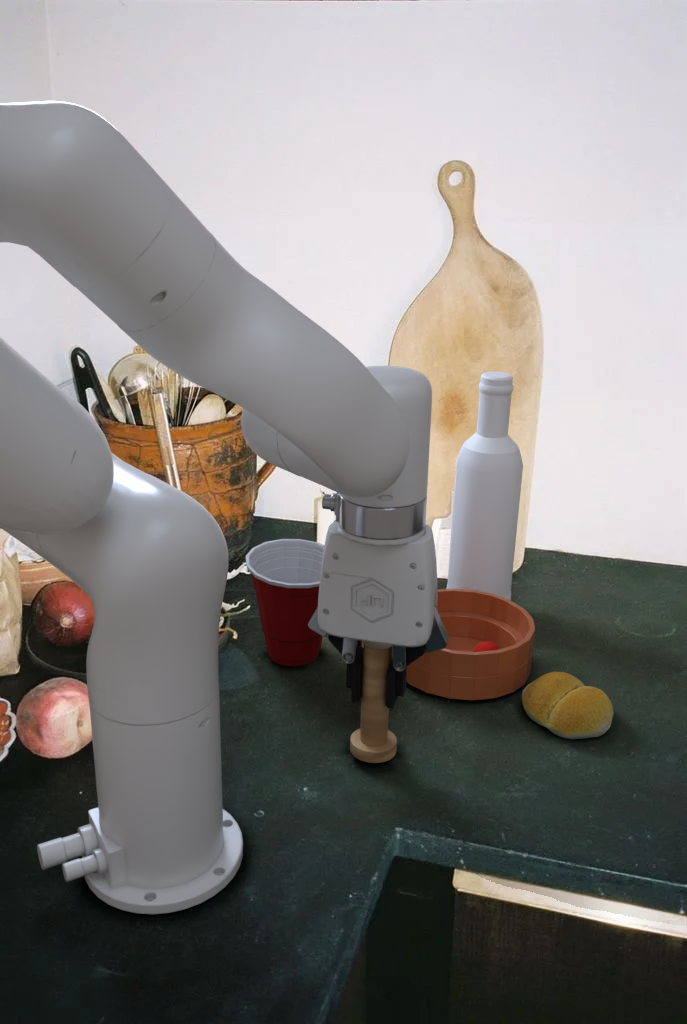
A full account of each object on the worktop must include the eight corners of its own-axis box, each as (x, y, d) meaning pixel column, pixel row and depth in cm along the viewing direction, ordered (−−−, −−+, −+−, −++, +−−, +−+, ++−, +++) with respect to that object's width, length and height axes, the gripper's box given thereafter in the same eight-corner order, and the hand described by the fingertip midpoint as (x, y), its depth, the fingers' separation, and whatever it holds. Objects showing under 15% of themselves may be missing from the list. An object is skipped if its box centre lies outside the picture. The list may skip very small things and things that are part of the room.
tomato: (488, 678, 101) (471, 667, 104) (509, 663, 103) (491, 652, 105) (482, 656, 100) (464, 646, 103) (503, 642, 101) (485, 632, 104)
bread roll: (580, 753, 90) (585, 717, 88) (508, 712, 96) (511, 678, 94) (630, 722, 95) (635, 688, 93) (558, 685, 101) (562, 652, 99)
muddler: (368, 768, 86) (373, 659, 82) (340, 745, 89) (344, 639, 85) (405, 754, 88) (412, 647, 84) (378, 732, 91) (382, 628, 88)
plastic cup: (286, 690, 99) (286, 588, 94) (227, 650, 106) (225, 554, 102) (362, 658, 105) (365, 560, 101) (301, 622, 113) (302, 530, 109)
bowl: (444, 719, 94) (447, 667, 92) (366, 652, 107) (367, 605, 104) (558, 682, 102) (564, 633, 99) (473, 623, 114) (476, 579, 112)
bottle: (520, 621, 114) (545, 380, 104) (461, 630, 112) (481, 384, 101) (490, 593, 122) (511, 365, 111) (435, 601, 119) (450, 368, 108)
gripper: (277, 518, 79) (279, 705, 85) (470, 540, 75) (456, 735, 81) (304, 488, 85) (304, 664, 92) (482, 508, 81) (468, 690, 88)
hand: (375, 696), depth 87 cm, fingers closed on muddler, 2 cm apart
